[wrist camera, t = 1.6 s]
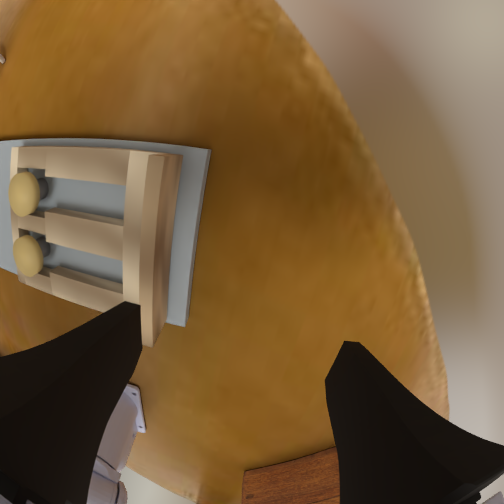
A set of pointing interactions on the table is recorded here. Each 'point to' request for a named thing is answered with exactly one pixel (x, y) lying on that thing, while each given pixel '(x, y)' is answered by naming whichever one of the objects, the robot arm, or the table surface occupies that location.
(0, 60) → the dna model
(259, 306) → the table surface
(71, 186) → the board
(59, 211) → the beige flat slatted frame
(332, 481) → the wooden box
